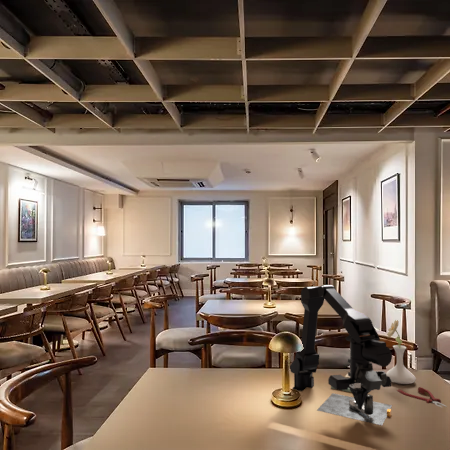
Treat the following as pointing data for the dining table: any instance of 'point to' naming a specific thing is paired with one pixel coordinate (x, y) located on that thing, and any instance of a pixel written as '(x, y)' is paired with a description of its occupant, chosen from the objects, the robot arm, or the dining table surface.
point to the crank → (367, 407)
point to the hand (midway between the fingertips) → (359, 409)
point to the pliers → (427, 393)
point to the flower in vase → (399, 361)
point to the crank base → (341, 407)
